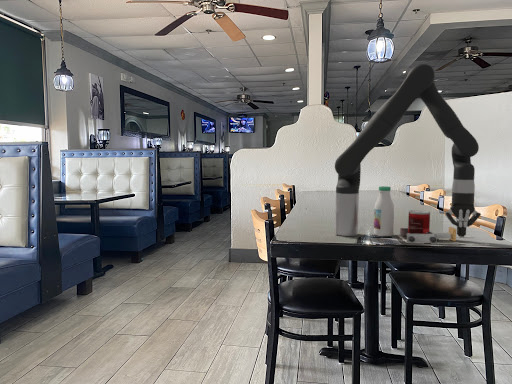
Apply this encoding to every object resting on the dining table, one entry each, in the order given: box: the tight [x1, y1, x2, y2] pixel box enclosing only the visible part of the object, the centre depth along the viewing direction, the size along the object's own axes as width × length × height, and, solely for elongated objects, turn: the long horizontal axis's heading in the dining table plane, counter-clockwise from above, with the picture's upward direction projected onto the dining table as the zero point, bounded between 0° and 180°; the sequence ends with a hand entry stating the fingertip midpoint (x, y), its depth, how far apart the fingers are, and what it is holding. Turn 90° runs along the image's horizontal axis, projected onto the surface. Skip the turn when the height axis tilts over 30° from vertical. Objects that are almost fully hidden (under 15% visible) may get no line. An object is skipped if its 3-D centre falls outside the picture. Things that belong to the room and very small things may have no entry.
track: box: [397, 234, 490, 246], centre depth 150 cm, size 29×15×1 cm, turn 82°
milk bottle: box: [373, 185, 395, 237], centre depth 160 cm, size 8×8×20 cm
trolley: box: [398, 226, 457, 243], centre depth 151 cm, size 18×15×4 cm
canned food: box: [407, 209, 431, 234], centre depth 151 cm, size 8×8×11 cm
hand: (461, 236), depth 149 cm, fingers closed
